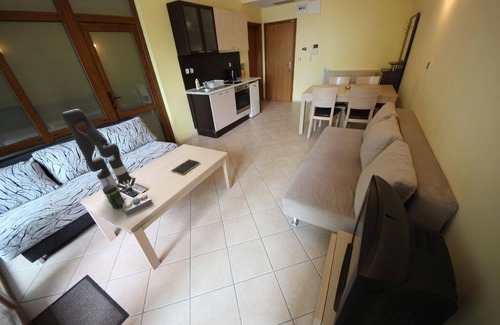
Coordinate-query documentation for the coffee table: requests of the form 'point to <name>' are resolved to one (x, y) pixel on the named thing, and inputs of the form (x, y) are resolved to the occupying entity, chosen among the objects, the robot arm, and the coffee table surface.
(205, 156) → the coffee table surface
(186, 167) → the hardcover book
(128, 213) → the console
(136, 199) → the button slate
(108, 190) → the coffee jar
